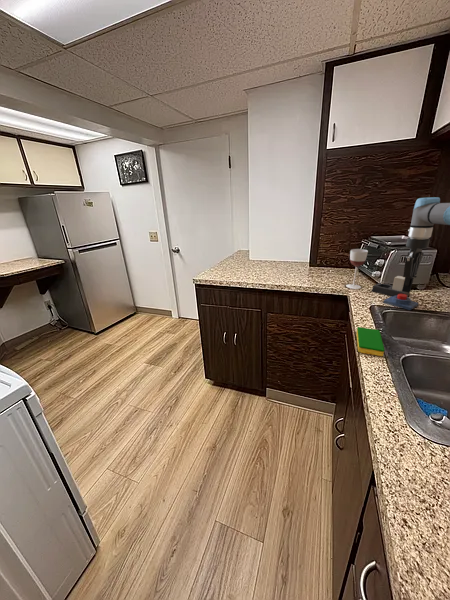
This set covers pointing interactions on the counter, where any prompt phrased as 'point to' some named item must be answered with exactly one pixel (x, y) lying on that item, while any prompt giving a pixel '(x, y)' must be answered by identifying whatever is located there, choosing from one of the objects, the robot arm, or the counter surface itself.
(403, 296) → the switch
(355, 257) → the wineglass
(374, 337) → the dish sponge
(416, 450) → the counter surface
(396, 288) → the block
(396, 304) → the switchbox
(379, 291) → the adapter
